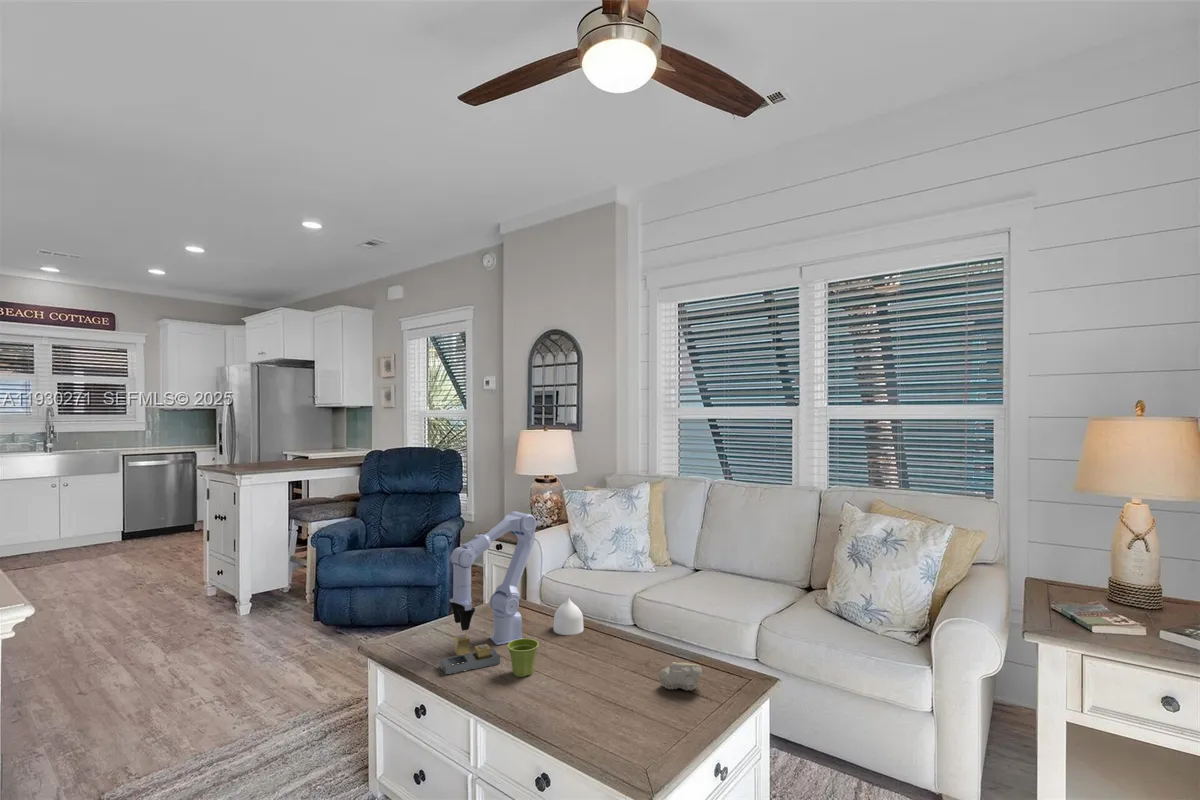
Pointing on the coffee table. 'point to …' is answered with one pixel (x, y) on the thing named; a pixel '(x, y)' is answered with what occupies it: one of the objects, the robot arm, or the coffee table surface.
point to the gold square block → (462, 644)
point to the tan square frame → (482, 651)
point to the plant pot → (523, 656)
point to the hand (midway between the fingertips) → (461, 626)
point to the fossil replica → (680, 676)
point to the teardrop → (568, 619)
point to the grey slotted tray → (468, 662)
